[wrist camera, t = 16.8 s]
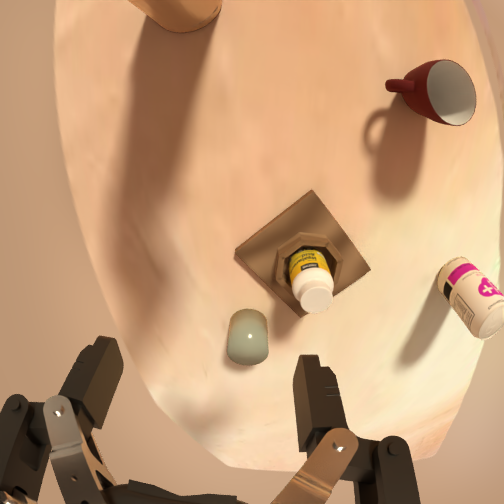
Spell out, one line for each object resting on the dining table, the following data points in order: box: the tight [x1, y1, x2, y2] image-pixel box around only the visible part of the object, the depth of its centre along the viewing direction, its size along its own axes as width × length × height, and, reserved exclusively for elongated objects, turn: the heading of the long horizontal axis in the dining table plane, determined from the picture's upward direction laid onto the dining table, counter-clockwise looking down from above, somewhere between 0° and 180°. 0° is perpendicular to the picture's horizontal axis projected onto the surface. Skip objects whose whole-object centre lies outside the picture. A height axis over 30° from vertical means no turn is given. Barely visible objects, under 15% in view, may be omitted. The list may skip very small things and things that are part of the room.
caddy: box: [235, 190, 371, 318], centre depth 42 cm, size 16×14×4 cm
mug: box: [385, 60, 476, 126], centre depth 27 cm, size 11×8×10 cm
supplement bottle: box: [288, 246, 334, 313], centre depth 38 cm, size 5×5×10 cm
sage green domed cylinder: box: [227, 309, 269, 365], centre depth 46 cm, size 6×6×7 cm
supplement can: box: [437, 256, 504, 340], centre depth 38 cm, size 8×8×15 cm
